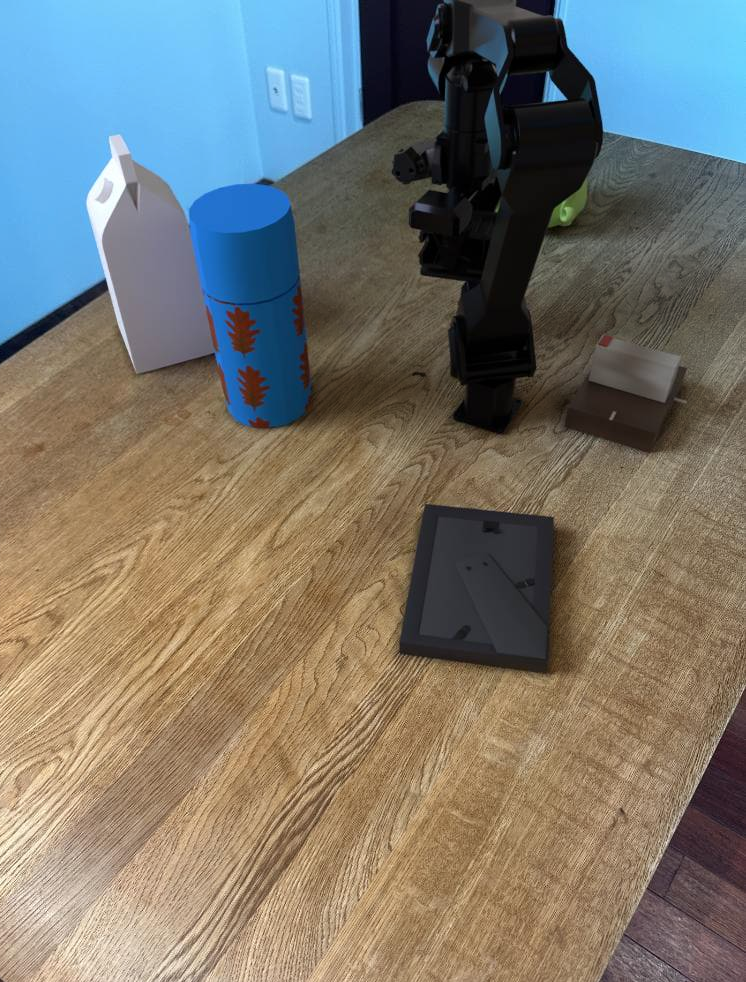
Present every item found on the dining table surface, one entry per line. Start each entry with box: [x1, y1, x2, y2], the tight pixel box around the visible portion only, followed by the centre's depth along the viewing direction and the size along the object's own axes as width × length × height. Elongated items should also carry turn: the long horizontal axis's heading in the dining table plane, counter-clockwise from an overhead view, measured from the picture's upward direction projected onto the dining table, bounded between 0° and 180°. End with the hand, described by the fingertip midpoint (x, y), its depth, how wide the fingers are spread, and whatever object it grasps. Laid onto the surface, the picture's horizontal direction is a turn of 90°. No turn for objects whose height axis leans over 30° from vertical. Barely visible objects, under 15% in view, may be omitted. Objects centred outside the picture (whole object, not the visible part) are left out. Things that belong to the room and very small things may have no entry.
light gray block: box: [589, 334, 682, 403], centre depth 93 cm, size 9×2×5 cm, turn 59°
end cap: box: [417, 210, 498, 282], centre depth 99 cm, size 10×7×7 cm
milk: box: [85, 133, 215, 375], centre depth 102 cm, size 12×12×26 cm
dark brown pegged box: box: [564, 365, 688, 453], centre depth 96 cm, size 13×13×3 cm
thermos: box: [188, 183, 312, 429], centre depth 92 cm, size 11×11×25 cm
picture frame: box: [398, 503, 555, 674], centre depth 79 cm, size 13×2×18 cm
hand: (462, 254), depth 100 cm, fingers closed on end cap, 7 cm apart
